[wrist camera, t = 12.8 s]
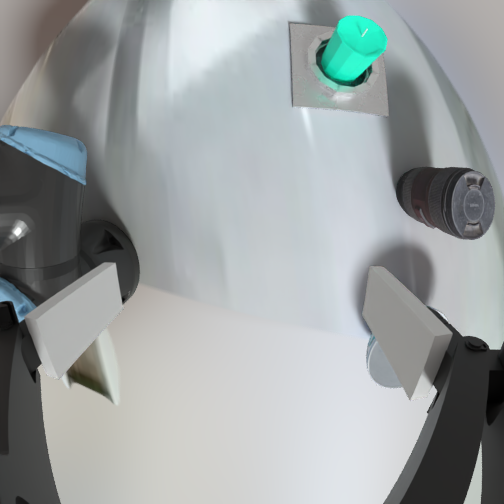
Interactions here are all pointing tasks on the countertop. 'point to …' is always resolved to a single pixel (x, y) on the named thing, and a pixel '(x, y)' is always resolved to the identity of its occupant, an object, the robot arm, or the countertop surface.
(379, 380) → the chinaware
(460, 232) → the camera lens
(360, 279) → the countertop surface
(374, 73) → the duct flange
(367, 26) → the candle
